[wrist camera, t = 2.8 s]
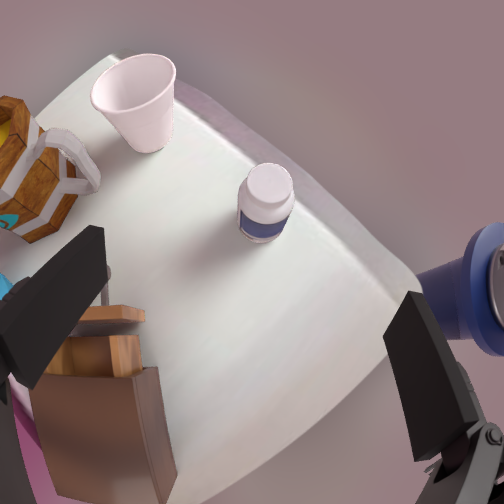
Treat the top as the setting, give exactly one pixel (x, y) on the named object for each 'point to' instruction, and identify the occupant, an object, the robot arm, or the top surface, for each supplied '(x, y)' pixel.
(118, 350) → the drawer
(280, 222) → the pill bottle
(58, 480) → the cabinet
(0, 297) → the perfume bottle
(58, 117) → the top surface
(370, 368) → the top surface
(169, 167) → the top surface
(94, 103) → the cup
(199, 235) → the top surface
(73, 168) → the mug
